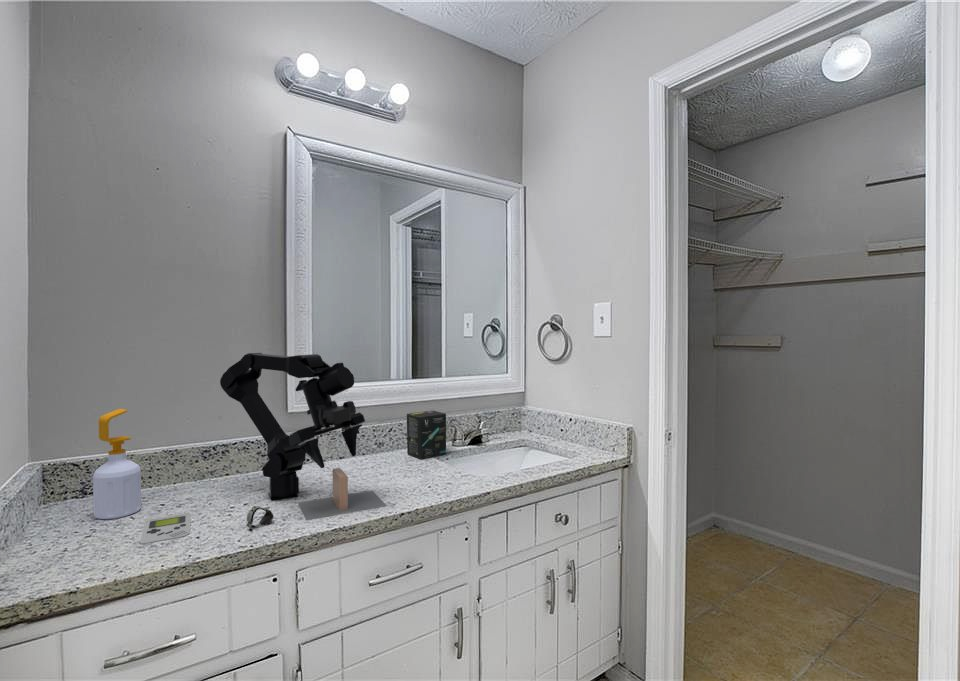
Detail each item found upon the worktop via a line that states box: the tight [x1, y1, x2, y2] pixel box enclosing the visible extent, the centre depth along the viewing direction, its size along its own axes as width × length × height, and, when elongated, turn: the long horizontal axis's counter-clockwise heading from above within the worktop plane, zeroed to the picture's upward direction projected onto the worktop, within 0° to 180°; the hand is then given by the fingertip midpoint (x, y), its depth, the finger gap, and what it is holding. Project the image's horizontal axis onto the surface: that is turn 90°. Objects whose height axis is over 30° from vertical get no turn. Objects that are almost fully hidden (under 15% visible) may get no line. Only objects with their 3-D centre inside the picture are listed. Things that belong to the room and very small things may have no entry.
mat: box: [297, 490, 388, 521], centre depth 121 cm, size 19×13×1 cm
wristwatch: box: [246, 505, 275, 530], centre depth 108 cm, size 3×5×5 cm
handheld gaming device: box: [139, 512, 191, 545], centre depth 108 cm, size 9×1×15 cm
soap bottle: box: [92, 408, 142, 520], centre depth 116 cm, size 9×9×25 cm
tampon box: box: [406, 409, 447, 460], centre depth 171 cm, size 11×9×15 cm
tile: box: [332, 467, 349, 510], centre depth 121 cm, size 2×8×8 cm, turn 29°
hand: (339, 461), depth 120 cm, fingers open, 9 cm apart
